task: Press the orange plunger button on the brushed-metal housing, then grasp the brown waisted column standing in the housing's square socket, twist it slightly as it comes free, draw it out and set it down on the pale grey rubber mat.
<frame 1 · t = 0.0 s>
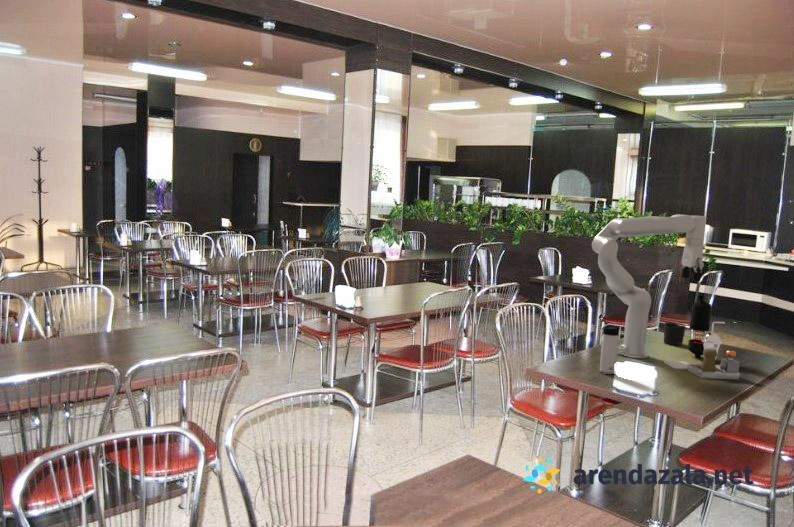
hand: (690, 279, 280), 37 cm above the table, tool pointing down, fingers open, 9 cm apart
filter: (697, 357, 285), on the table
plunger: (730, 358, 253), point 8 cm above the table, slide at 0.0 cm
cup with straw: (709, 363, 275), on the table
brown waisted column: (707, 374, 256), resting in housing
pen holder: (672, 344, 308), on the table
travel mug: (607, 373, 252), on the table
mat: (679, 365, 268), on the table
housing: (712, 374, 256), on the table
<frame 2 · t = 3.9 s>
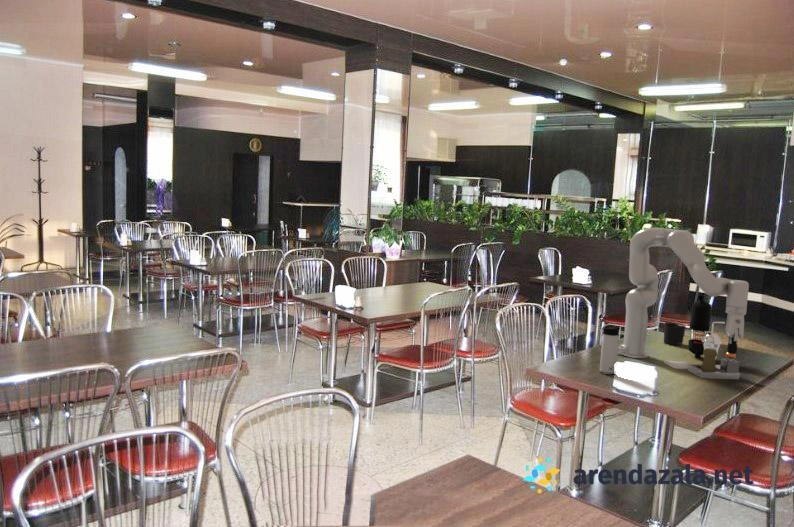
hand: (731, 352, 253), 10 cm above the table, tool pointing down, fingers closed
plunger: (730, 359, 253), point 7 cm above the table, slide at 0.6 cm, touching gripper
everything else where it was.
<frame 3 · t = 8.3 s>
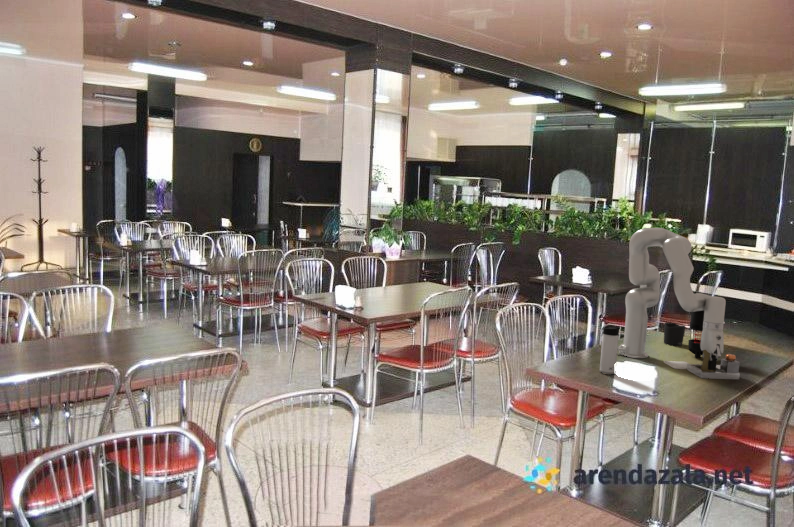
hand: (708, 367, 256), 3 cm above the table, tool pointing down, fingers closed on brown waisted column, 3 cm apart
plunger: (730, 361, 253), point 6 cm above the table, slide at 1.5 cm
brown waisted column: (707, 374, 256), resting in housing, touching gripper
everything else where it was.
when the fingers open (5 cm above the table, at t = 14.1 s): brown waisted column drops 1 cm, resting on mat.
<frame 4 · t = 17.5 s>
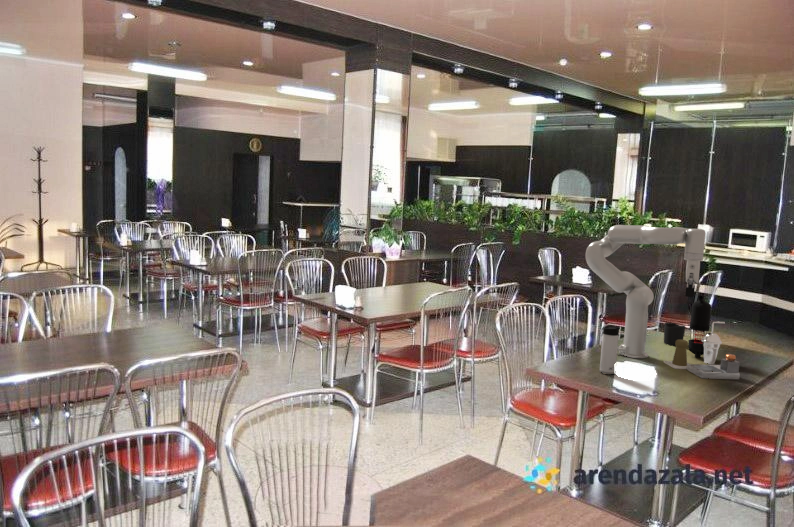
hand: (689, 295, 267), 31 cm above the table, tool pointing down, fingers open, 9 cm apart
brown waisted column: (679, 364, 268), resting on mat
everything else where it was.
at the end: plunger slide at 1.5 cm; brown waisted column inside the target area on the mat (0.4 cm from its centre), point 0.4 cm above the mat's base; brown waisted column tilted 0° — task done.
